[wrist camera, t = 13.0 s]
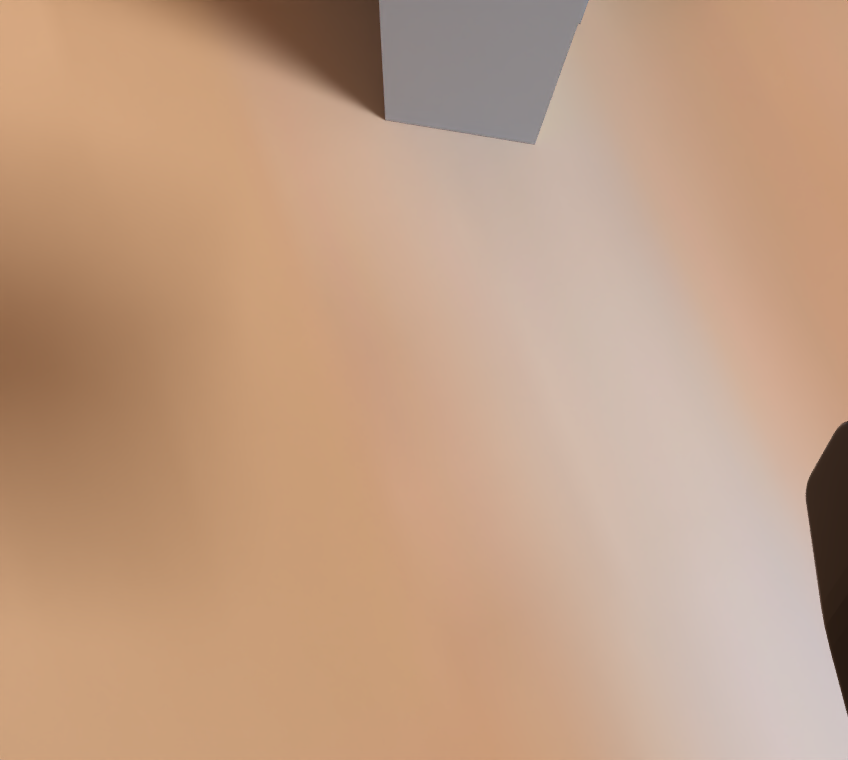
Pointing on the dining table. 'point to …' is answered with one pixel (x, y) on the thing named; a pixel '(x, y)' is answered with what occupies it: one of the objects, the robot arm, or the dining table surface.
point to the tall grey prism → (475, 62)
